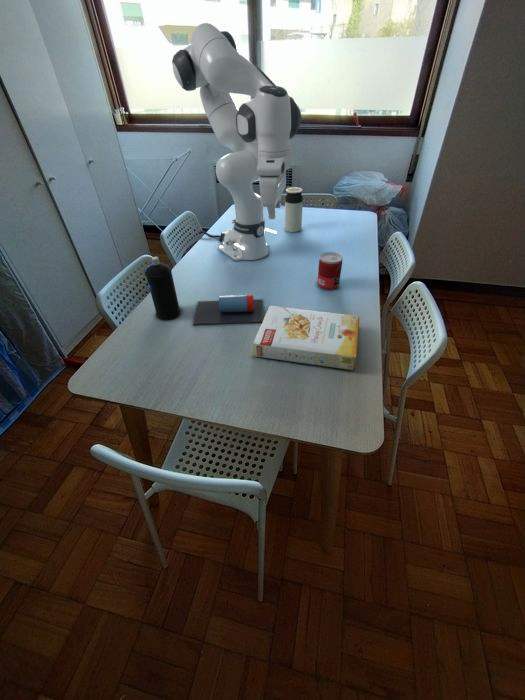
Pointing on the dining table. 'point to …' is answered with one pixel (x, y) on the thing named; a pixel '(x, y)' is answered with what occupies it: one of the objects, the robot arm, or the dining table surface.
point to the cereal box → (308, 337)
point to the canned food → (329, 270)
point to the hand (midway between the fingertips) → (275, 212)
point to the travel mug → (293, 209)
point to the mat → (225, 314)
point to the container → (236, 303)
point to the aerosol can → (162, 290)
